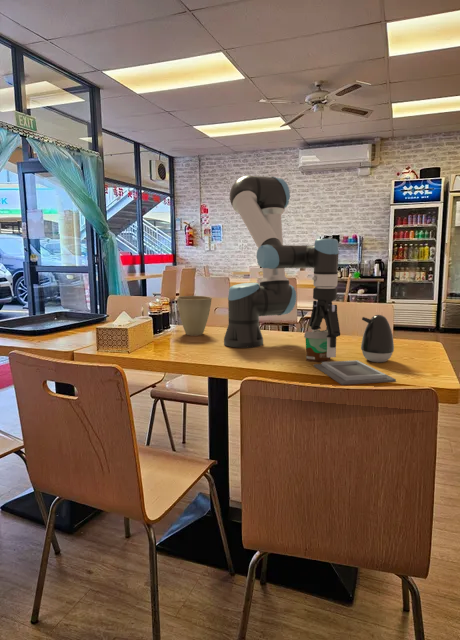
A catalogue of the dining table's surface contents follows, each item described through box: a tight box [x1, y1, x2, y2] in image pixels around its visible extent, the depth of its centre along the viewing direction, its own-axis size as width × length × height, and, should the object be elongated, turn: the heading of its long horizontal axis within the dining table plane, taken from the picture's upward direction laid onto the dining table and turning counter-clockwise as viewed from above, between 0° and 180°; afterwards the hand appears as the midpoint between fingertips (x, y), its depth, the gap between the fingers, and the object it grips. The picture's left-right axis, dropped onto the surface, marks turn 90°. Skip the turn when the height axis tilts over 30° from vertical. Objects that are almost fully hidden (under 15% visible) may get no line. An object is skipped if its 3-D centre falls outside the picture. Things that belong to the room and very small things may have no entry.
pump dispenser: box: [360, 314, 395, 363], centre depth 145 cm, size 10×10×15 cm
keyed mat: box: [313, 359, 397, 386], centre depth 131 cm, size 20×16×2 cm
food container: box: [303, 326, 331, 363], centre depth 146 cm, size 12×6×10 cm, turn 131°
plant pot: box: [176, 295, 212, 337], centre depth 192 cm, size 15×15×16 cm
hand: (323, 352), depth 147 cm, fingers open, 12 cm apart
